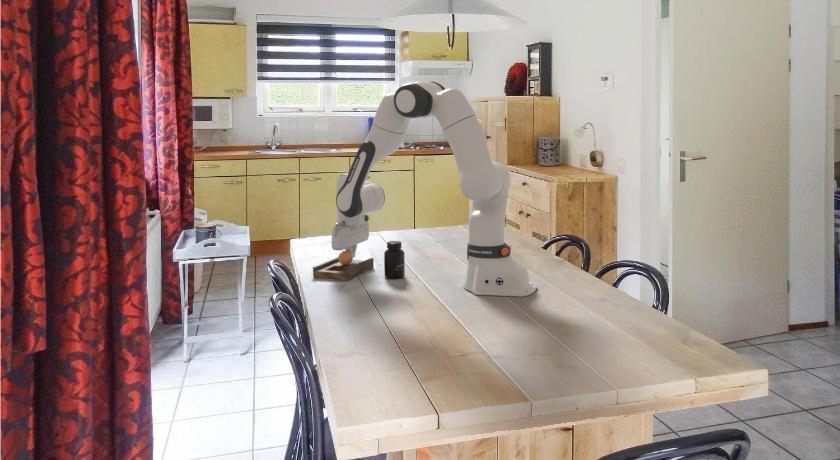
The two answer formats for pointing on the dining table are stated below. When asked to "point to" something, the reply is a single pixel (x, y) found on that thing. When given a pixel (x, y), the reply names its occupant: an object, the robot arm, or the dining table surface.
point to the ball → (345, 257)
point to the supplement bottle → (394, 260)
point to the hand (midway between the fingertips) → (351, 257)
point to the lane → (342, 269)
